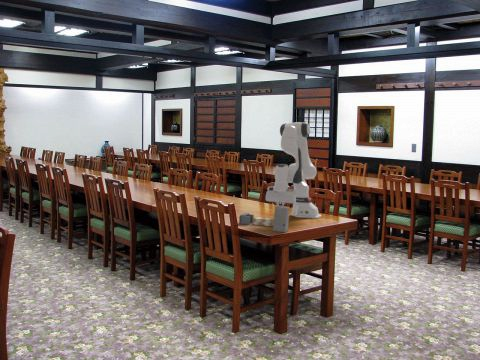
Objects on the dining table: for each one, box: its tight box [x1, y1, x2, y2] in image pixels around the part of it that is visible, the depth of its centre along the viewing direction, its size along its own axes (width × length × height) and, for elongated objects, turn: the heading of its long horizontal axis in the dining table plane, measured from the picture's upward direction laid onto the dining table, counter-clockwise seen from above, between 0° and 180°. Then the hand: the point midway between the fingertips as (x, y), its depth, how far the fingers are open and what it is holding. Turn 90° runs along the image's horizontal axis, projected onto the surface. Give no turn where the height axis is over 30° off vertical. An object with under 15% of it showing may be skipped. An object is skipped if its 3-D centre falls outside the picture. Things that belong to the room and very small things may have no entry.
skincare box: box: [272, 205, 290, 233], centre depth 323 cm, size 8×7×16 cm
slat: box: [252, 216, 274, 227], centre depth 342 cm, size 14×4×4 cm, turn 69°
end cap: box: [238, 212, 255, 225], centre depth 346 cm, size 7×9×6 cm
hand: (280, 209), depth 337 cm, fingers closed
